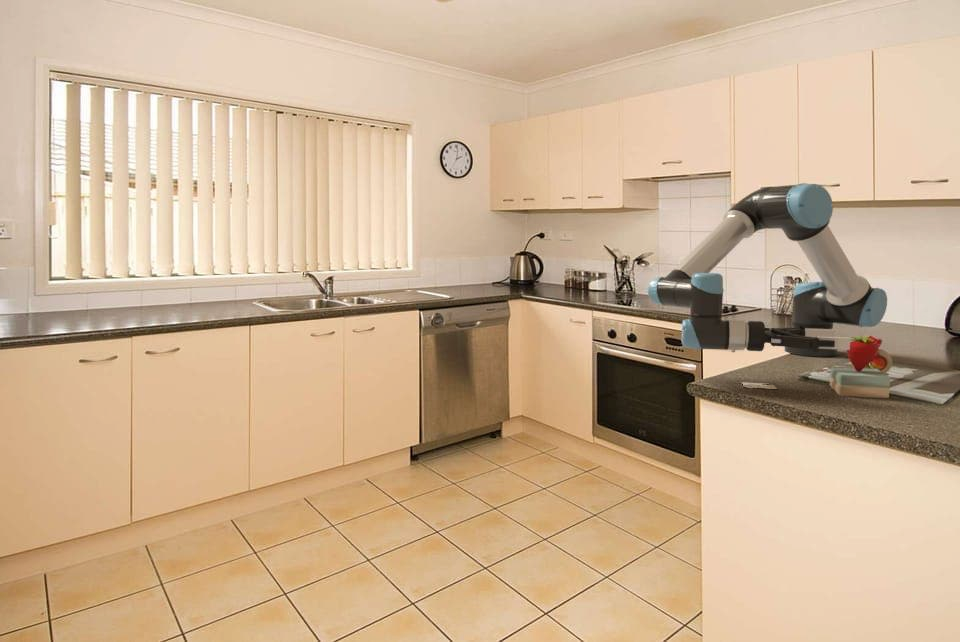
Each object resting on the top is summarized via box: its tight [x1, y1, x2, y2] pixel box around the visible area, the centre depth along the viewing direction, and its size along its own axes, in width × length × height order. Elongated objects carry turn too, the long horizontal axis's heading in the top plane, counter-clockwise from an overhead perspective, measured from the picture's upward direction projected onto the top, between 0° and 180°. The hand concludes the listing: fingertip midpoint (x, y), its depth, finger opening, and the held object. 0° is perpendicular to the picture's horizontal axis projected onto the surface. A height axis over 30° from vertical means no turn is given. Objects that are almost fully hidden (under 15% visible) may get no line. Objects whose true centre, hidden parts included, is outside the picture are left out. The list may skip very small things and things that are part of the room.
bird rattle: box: [851, 335, 893, 374], centre depth 164 cm, size 6×11×9 cm
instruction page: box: [740, 381, 767, 387], centre depth 154 cm, size 6×8×1 cm
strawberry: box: [846, 331, 877, 371], centre depth 147 cm, size 6×8×10 cm
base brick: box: [829, 366, 891, 399], centre depth 148 cm, size 10×10×5 cm
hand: (841, 339), depth 147 cm, fingers open, 13 cm apart
